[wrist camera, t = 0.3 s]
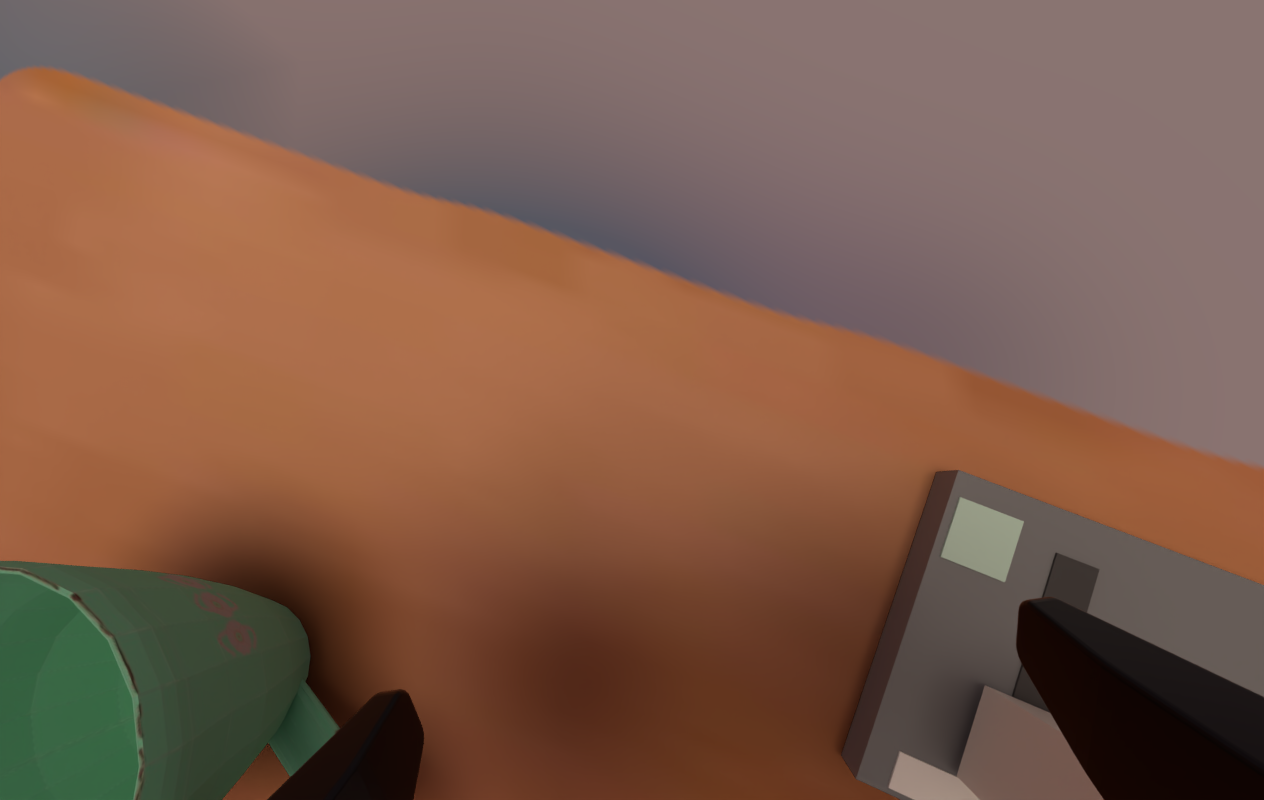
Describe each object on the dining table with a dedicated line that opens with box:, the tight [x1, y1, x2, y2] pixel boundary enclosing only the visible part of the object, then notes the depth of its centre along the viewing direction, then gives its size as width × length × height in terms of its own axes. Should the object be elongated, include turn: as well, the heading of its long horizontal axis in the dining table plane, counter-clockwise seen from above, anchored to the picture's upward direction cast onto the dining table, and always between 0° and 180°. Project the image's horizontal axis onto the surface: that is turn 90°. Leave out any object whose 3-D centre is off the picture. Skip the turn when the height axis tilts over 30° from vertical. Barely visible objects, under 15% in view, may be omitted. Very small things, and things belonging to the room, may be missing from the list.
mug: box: [0, 561, 340, 800], centre depth 18 cm, size 15×10×10 cm
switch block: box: [841, 470, 1264, 800], centre depth 19 cm, size 11×21×2 cm, turn 68°
